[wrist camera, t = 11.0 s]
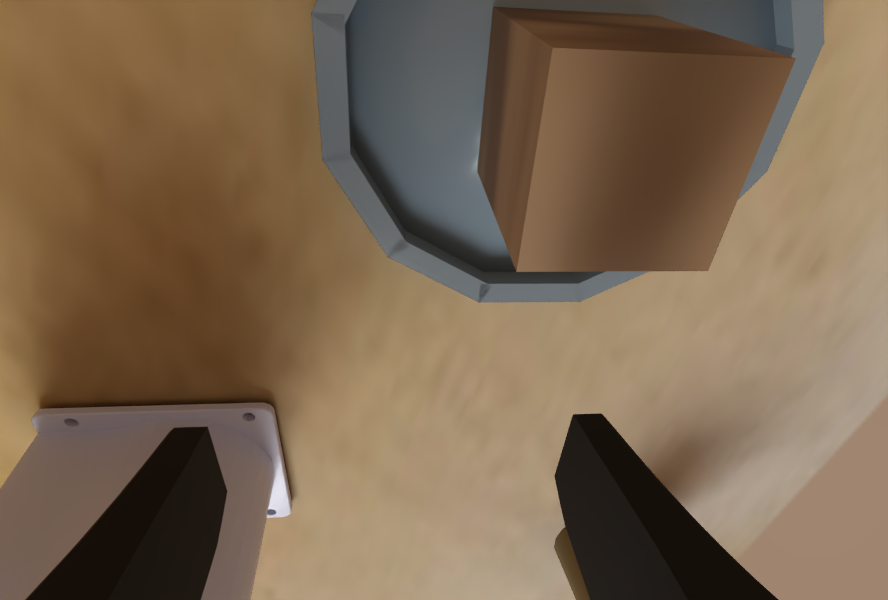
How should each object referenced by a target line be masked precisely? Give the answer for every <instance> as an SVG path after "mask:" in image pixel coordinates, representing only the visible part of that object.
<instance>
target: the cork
mask: <svg viewBox="0 0 888 600" xmlns="http://www.w3.org/2000/svg"><path fill="white" fill-rule="evenodd" d="M554 548H555V550H556V553H557V555H558V558H559V560H560V562H561V565H562V567H563V569H564V572H565V574H566V577H567V579H568V581H569V584H570V586H571V589H572V591H573V593H574V596H575V598H576V600H590V597H589V595H588V592H587V589H586V586H585V583H584V580H583V577H582V574H581V571H580V568H579V565H578V562H577V559H576V556H575V553H574V550H573V547H572V544H571V541H570V538H569V535H568V532H567V529H566V528H565V529H563V530H562V531H561V533H560V534H559V535H558V537H557V538H556V541H555V546H554Z"/></svg>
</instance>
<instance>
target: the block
mask: <svg viewBox="0 0 888 600" xmlns="http://www.w3.org/2000/svg"><path fill="white" fill-rule="evenodd" d="M795 60H796V58H793V57H790V56H786V55H783V54H780V53H777V52H773V51H770V50H767V49H764V48H760V47H757V46H754V45H751V44H747V43H744V42H741V41H738V40H734V39H731V38H728V37H725V36H721V35H718V34H715V33H712V32H708V31H705V30H702V29H699V28H696V27H692V26H689V25H686V24H683V23H679V22H676V21H673V20H670V19H666V18H663V17H660V16H657V15H641V14H622V13H603V12H584V11H565V10H546V9H527V8H508V7H493V11H492V22H491V32H490V42H489V53H488V63H487V74H486V84H485V94H484V105H483V115H482V126H481V136H480V146H479V157H478V167H477V172H478V175H479V177H480V180H481V183H482V185H483V188H484V190H485V193H486V195H487V198H488V200H489V203H490V206H491V208H492V211H493V213H494V216H495V218H496V221H497V223H498V226H499V228H500V231H501V234H502V236H503V239H504V241H505V244H506V246H507V249H508V251H509V254H510V257H511V259H512V262H513V264H514V267H515V269H516V272H597V271H708V270H709V267H710V265H711V262H712V260H713V258H714V255H715V253H716V250H717V248H718V246H719V243H720V241H721V238H722V236H723V234H724V231H725V229H726V226H727V224H728V221H729V219H730V217H731V214H732V212H733V209H734V207H735V205H736V202H737V200H738V197H739V195H740V192H741V190H742V188H743V185H744V183H745V180H746V178H747V176H748V173H749V171H750V168H751V166H752V164H753V161H754V159H755V156H756V154H757V151H758V149H759V147H760V144H761V142H762V139H763V137H764V135H765V132H766V130H767V127H768V125H769V123H770V120H771V118H772V115H773V113H774V110H775V108H776V106H777V103H778V101H779V98H780V96H781V94H782V91H783V89H784V86H785V84H786V81H787V79H788V77H789V74H790V72H791V69H792V67H793V65H794V62H795Z"/></svg>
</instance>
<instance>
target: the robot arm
mask: <svg viewBox="0 0 888 600" xmlns="http://www.w3.org/2000/svg"><path fill="white" fill-rule="evenodd" d="M248 413H252V414H248ZM32 423H33V425H34V427H35V429H36V430H37V432H38V434H37V436H36V437H35V439H34V440H33V442H32V443H31V445H30V446H29V448H28V449H27V450H26V452H25V453H24V455H23V456H22V458H21V459H20V461H19V462H18V464H17V465H16V466H15V468H14V469H13V471H12V472H11V474H10V475H9V477H8V478H7V480H6V481H5V483H4V484H3V485H2V487H1V488H0V600H250V599H251V594H252V589H253V584H254V579H255V574H256V569H257V564H258V559H259V554H260V549H261V543H262V538H263V533H264V528H265V523H266V518H271V517H285V516H287V515H289V514H290V513H291V510H292V501H291V496H290V490H289V485H288V480H287V474H286V469H285V464H284V458H283V453H282V447H281V442H280V437H279V431H278V426H277V421H276V415H275V410H274V408H273V407H272V406H271V405H270V404H267V403H225V404H190V405H154V406H118V407H83V408H47V409H40V410H38V411H37V412H36V413H35V414H34V416H33V417H32ZM555 480H556V485H557V490H558V495H559V500H560V505H561V509H562V513H563V518H564V522H565V526H566V529H567V532H568V535H569V538H570V541H571V544H572V547H573V550H574V553H575V556H576V559H577V562H578V565H579V568H580V571H581V574H582V577H583V580H584V583H585V586H586V589H587V592H588V595H589V597H590V600H778V599H777V598H776V597H775V596H773V595H772V594H771V593H770V592H769V591H768V590H767V589H766V588H765V587H764V586H762V585H761V584H760V583H759V582H758V581H757V580H756V579H755V578H754V577H753V576H752V575H750V574H749V573H748V572H747V571H746V570H745V569H744V568H743V567H742V566H741V565H740V564H739V563H738V562H737V561H736V560H735V559H734V558H733V557H732V556H731V555H730V554H729V553H728V552H727V551H726V550H725V549H724V548H723V547H722V546H721V545H720V544H719V543H718V542H717V541H716V540H715V539H714V538H713V537H712V536H711V535H710V534H709V533H708V532H707V531H706V530H705V529H704V528H703V527H702V526H701V525H700V524H699V523H698V522H697V521H696V520H695V519H694V518H693V517H692V516H691V515H690V513H689V512H688V511H687V510H686V509H685V508H684V507H683V506H682V505H681V504H680V503H679V501H678V500H677V499H676V498H675V497H674V496H673V495H672V494H671V493H670V492H669V491H668V489H667V488H666V487H665V486H664V485H663V484H662V483H661V482H660V481H659V479H658V478H657V477H656V476H655V475H654V474H653V473H652V472H651V470H650V469H649V468H648V467H647V466H646V465H645V463H644V462H643V461H642V460H641V459H640V458H639V456H638V455H637V454H636V453H635V452H634V451H633V449H632V448H631V447H630V446H629V445H628V444H627V442H626V441H625V440H624V439H623V438H622V437H621V435H620V434H619V433H618V432H617V431H616V429H615V428H614V427H613V426H612V425H611V424H610V422H609V421H608V420H607V419H606V418H605V417H604V416H603V415H602V414H573V417H572V420H571V423H570V427H569V430H568V433H567V437H566V440H565V443H564V447H563V450H562V453H561V457H560V460H559V463H558V467H557V470H556V473H555Z"/></svg>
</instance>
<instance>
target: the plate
mask: <svg viewBox="0 0 888 600" xmlns="http://www.w3.org/2000/svg"><path fill="white" fill-rule="evenodd" d="M493 7H508V8H527V9H546V10H565V11H584V12H603V13H622V14H641V15H657V16H660V17H663V18H666V19H670V20H673V21H676V22H679V23H683V24H686V25H689V26H692V27H696V28H699V29H702V30H705V31H708V32H712V33H715V34H718V35H721V36H725V37H728V38H731V39H734V40H738V41H741V42H744V43H747V44H751V45H754V46H757V47H760V48H764V49H767V50H770V51H773V52H777V53H780V54H783V55H786V56H790V57H793V58H796V60H795V62H794V65H793V67H792V69H791V72H790V74H789V77H788V79H787V81H786V84H785V86H784V89H783V91H782V94H781V96H780V98H779V101H778V103H777V106H776V108H775V110H774V113H773V115H772V118H771V120H770V123H769V125H768V127H767V130H766V132H765V135H764V137H763V139H762V142H761V144H760V147H759V149H758V151H757V154H756V156H755V159H754V161H753V164H752V166H751V168H750V171H749V173H748V176H747V178H746V180H745V183H744V185H743V188H742V190H741V192H740V195H739V197H738V200H739V199H740V198H741V197H742V196H743V195H744V194H745V193H746V192H747V191H748V190H749V189H750V188H751V187H752V186H753V185H754V184H755V183H756V182H757V181H758V180H759V179H760V178H761V177H762V176H763V175H764V174H765V173H766V172H767V171H768V168H769V166H770V164H771V161H772V159H773V157H774V155H775V152H776V150H777V148H778V146H779V143H780V141H781V139H782V136H783V134H784V132H785V130H786V127H787V125H788V123H789V121H790V118H791V116H792V114H793V112H794V109H795V107H796V105H797V103H798V100H799V98H800V96H801V93H802V91H803V89H804V87H805V84H806V82H807V80H808V78H809V75H810V73H811V71H812V69H813V66H814V64H815V62H816V59H817V57H818V55H819V53H820V50H821V48H822V46H823V44H824V25H823V0H317V2H316V5H315V7H314V9H313V11H312V12H311V15H312V28H313V41H314V54H315V67H316V80H317V93H318V106H319V119H320V132H321V145H322V158H323V159H322V160H323V162H324V163H325V165H326V166H327V167H328V169H329V170H330V172H331V173H332V175H333V176H334V178H335V179H336V181H337V182H338V184H339V185H340V187H341V188H342V190H343V191H344V193H345V194H346V196H347V197H348V199H349V200H350V202H351V203H352V205H353V206H354V208H355V209H356V210H357V212H358V213H359V215H360V216H361V218H362V219H363V221H364V222H365V224H366V225H367V227H368V228H369V230H370V231H371V233H372V234H373V236H374V237H375V239H376V240H377V242H378V243H379V245H380V246H381V248H382V249H383V251H384V252H385V254H386V255H387V257H388V258H391V259H393V260H395V261H397V262H399V263H401V264H403V265H405V266H407V267H409V268H411V269H413V270H415V271H417V272H419V273H421V274H423V275H425V276H427V277H429V278H431V279H433V280H435V281H437V282H439V283H441V284H443V285H445V286H447V287H449V288H451V289H453V290H455V291H457V292H459V293H461V294H463V295H465V296H467V297H469V298H471V299H473V300H475V301H477V302H479V303H480V302H580V301H582V300H585V299H587V298H589V297H592V296H594V295H596V294H598V293H601V292H603V291H605V290H608V289H610V288H612V287H614V286H617V285H619V284H621V283H624V282H626V281H628V280H630V279H633V278H635V277H637V276H640V275H642V274H644V273H646V272H649V271H597V272H516V269H515V267H514V264H513V262H512V259H511V257H510V254H509V251H508V249H507V246H506V244H505V241H504V239H503V236H502V234H501V231H500V228H499V226H498V223H497V221H496V218H495V216H494V213H493V211H492V208H491V206H490V203H489V200H488V198H487V195H486V193H485V190H484V188H483V185H482V183H481V180H480V177H479V175H478V172H477V167H478V157H479V146H480V136H481V126H482V115H483V105H484V94H485V84H486V74H487V63H488V53H489V42H490V32H491V22H492V11H493ZM738 200H737V201H738Z"/></svg>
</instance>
